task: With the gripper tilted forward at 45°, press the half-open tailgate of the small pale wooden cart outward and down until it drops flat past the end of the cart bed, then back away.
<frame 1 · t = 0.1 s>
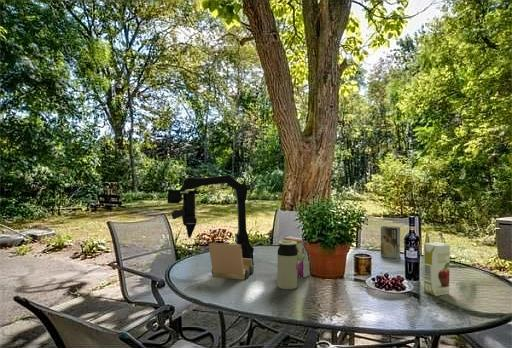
hand: (188, 235, 183), 15 cm above the table, tool pointing down, fingers open, 9 cm apart
tailgate: (226, 258, 161), point 9 cm above the table, hinge at 20.0°
cart bed: (227, 278, 163), on the table
candy bar box: (296, 275, 169), on the table
travel mug: (287, 287, 152), on the table
coffee box: (390, 257, 207), on the table
juice carton: (436, 293, 146), on the table
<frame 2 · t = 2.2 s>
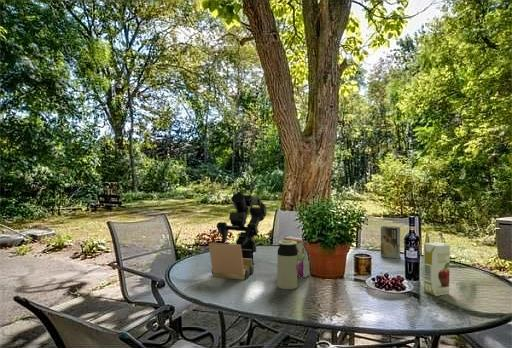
hand: (232, 244, 169), 13 cm above the table, tool tilted 45°, fingers open, 9 cm apart
nothing on the table moved.
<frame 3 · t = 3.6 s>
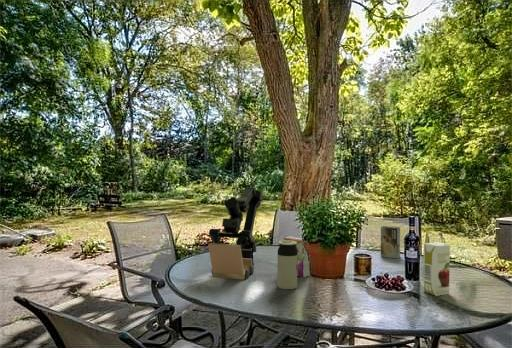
hand: (225, 252, 160), 12 cm above the table, tool tilted 45°
tailgate: (226, 258, 161), point 9 cm above the table, hinge at 22.0°, touching gripper
everything else where it was.
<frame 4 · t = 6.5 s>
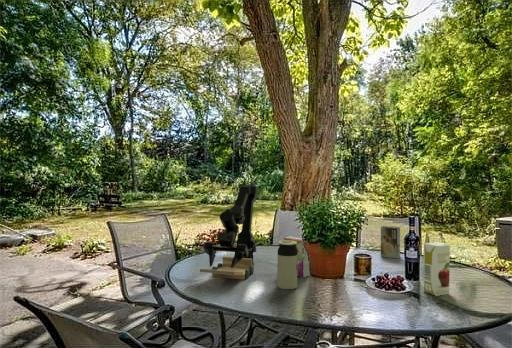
hand: (220, 267, 155), 7 cm above the table, tool tilted 45°, fingers open, 9 cm apart
tailgate: (222, 272, 157), point 4 cm above the table, hinge at 74.7°
everything else where it was.
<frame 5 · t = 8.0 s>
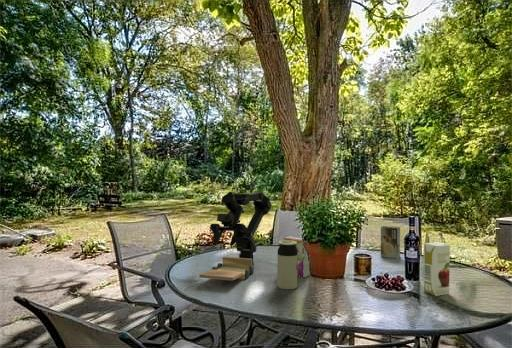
hand: (222, 245, 169), 13 cm above the table, tool tilted 40°, fingers open, 9 cm apart
tailgate: (222, 274, 156), point 3 cm above the table, hinge at 83.6°
everything else where it was.
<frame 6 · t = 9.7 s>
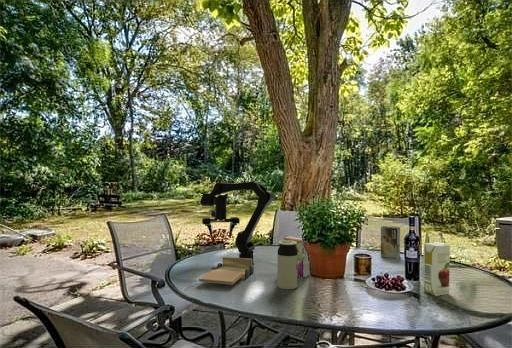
hand: (220, 237, 194), 12 cm above the table, tool pointing down, fingers open, 9 cm apart
tailgate: (221, 276, 156), point 3 cm above the table, hinge at 90.1°
everything else where it was.
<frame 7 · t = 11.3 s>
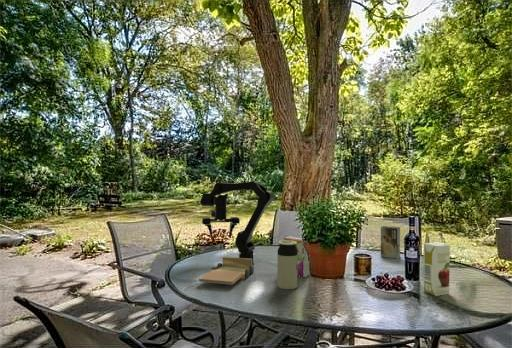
hand: (220, 237, 194), 12 cm above the table, tool pointing down, fingers open, 9 cm apart
nothing on the table moved.
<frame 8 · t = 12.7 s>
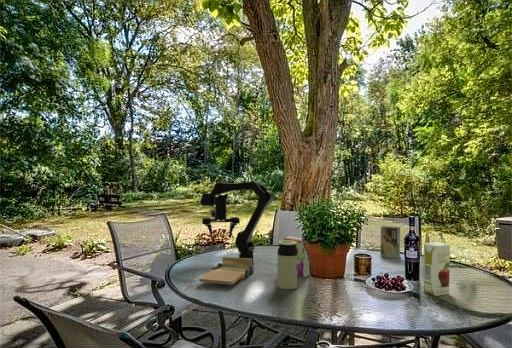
hand: (220, 237, 194), 12 cm above the table, tool pointing down, fingers open, 9 cm apart
nothing on the table moved.
at the end: tailgate at +90° (first picture: +20°); candy bar box moved 0.2 cm from its start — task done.
